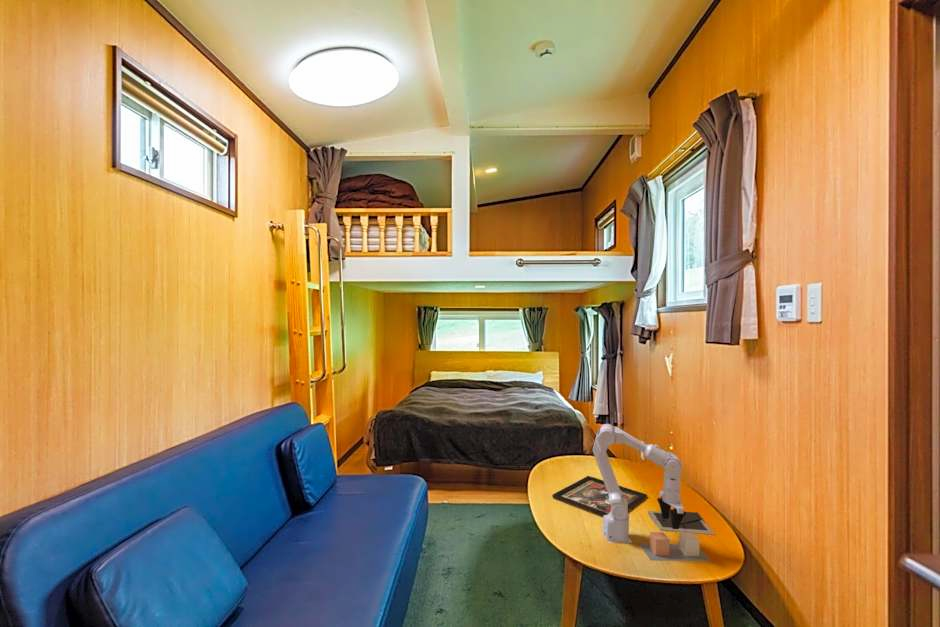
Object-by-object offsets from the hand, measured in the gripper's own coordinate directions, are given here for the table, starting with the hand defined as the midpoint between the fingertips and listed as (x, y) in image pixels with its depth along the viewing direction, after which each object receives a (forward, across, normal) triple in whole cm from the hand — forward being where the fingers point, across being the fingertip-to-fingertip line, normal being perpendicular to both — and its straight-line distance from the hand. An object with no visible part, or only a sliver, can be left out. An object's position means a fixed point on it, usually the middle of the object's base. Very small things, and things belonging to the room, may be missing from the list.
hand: (670, 523), depth 162 cm
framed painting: (+10, +43, +12) cm, 46 cm away
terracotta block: (+9, -4, +6) cm, 11 cm away
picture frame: (+10, +18, -13) cm, 25 cm away
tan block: (+9, -4, -5) cm, 11 cm away
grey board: (+10, -4, 0) cm, 10 cm away
